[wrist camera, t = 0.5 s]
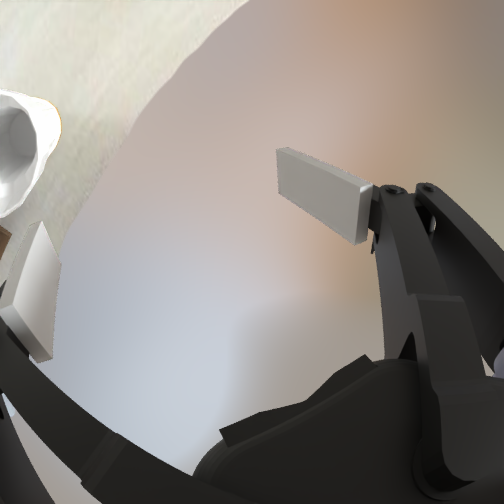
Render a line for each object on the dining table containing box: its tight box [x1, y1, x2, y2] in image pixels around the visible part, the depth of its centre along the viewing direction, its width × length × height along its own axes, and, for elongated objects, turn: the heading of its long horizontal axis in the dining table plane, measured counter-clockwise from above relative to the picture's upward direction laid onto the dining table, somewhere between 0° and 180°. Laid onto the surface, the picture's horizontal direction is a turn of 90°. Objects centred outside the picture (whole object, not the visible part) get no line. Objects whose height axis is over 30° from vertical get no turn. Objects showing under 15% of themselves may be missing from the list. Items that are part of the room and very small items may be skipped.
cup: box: [0, 89, 61, 218], centre depth 22 cm, size 11×11×17 cm
